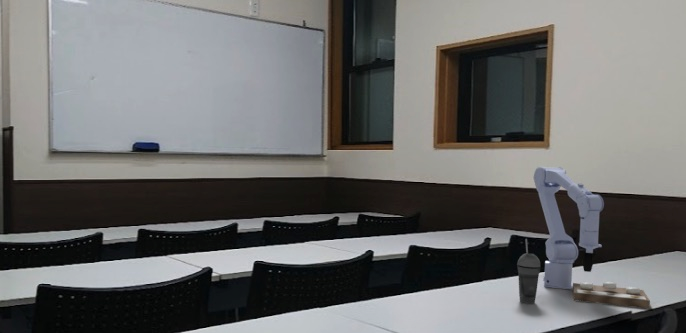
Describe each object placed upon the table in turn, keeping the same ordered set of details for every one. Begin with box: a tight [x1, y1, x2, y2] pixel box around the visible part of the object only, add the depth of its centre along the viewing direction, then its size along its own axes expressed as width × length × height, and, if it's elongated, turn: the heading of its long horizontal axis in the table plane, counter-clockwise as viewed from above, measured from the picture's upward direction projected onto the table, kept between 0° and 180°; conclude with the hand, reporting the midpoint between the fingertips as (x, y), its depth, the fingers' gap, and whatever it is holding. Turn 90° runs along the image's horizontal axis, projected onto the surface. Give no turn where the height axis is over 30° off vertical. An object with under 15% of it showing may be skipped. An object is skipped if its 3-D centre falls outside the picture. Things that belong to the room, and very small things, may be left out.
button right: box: [625, 286, 641, 294], centre depth 195 cm, size 4×4×2 cm
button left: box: [579, 281, 594, 290], centre depth 200 cm, size 4×4×2 cm
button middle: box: [602, 281, 617, 289], centre depth 197 cm, size 4×4×2 cm
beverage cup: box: [516, 238, 542, 305], centre depth 189 cm, size 7×7×20 cm
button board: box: [572, 282, 651, 310], centre depth 197 cm, size 22×16×3 cm
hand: (587, 271), depth 200 cm, fingers closed
